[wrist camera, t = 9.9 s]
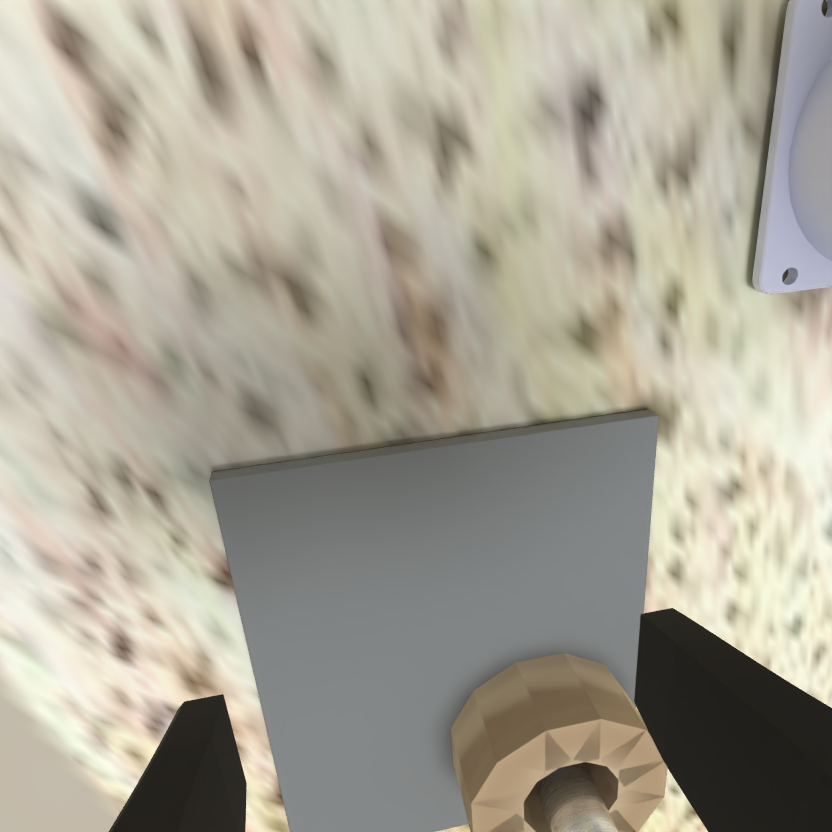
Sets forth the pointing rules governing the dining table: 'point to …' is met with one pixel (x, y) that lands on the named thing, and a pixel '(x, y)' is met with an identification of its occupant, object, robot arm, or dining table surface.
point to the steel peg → (573, 801)
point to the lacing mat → (428, 598)
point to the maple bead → (553, 744)
